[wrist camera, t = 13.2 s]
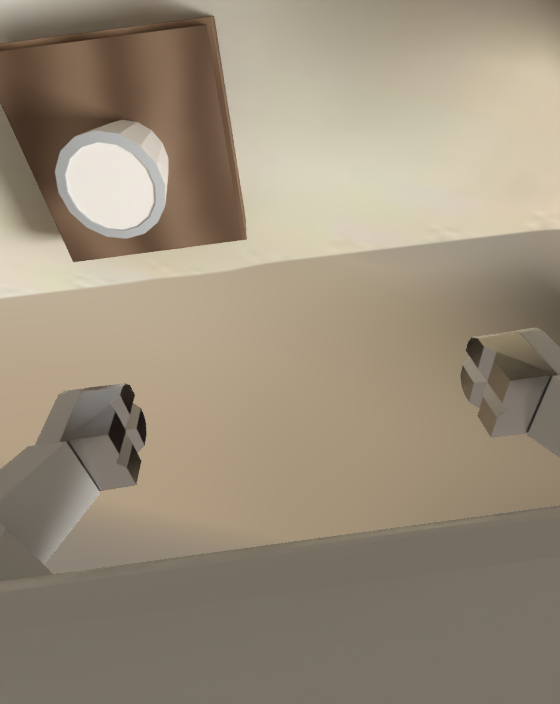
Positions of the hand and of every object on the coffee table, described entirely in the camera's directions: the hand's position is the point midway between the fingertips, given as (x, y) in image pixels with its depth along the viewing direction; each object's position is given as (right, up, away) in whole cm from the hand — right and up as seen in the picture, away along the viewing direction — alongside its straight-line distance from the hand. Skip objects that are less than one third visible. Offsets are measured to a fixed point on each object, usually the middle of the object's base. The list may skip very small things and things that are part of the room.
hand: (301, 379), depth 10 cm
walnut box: (-13, +19, +27) cm, 36 cm away
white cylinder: (-12, +16, +23) cm, 30 cm away
